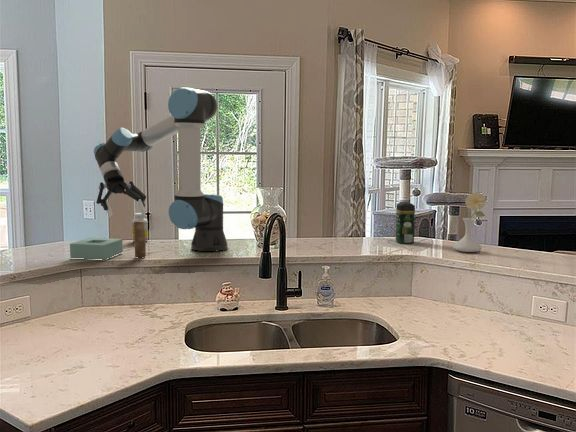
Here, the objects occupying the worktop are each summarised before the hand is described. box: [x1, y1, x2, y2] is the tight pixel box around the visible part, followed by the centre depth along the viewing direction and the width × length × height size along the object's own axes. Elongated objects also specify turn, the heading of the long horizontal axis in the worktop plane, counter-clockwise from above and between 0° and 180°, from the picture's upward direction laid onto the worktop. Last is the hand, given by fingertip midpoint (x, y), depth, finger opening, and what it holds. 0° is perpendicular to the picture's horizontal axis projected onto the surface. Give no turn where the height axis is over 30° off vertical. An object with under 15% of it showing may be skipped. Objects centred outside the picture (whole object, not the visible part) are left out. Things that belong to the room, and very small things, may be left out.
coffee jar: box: [395, 201, 416, 245], centre depth 246 cm, size 10×8×19 cm
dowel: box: [134, 221, 147, 259], centre depth 208 cm, size 4×4×14 cm
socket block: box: [69, 237, 124, 260], centre depth 210 cm, size 14×14×6 cm
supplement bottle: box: [131, 212, 149, 242], centre depth 244 cm, size 7×7×13 cm
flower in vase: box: [453, 191, 487, 253], centre depth 224 cm, size 13×11×25 cm
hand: (127, 214), depth 216 cm, fingers open, 13 cm apart
